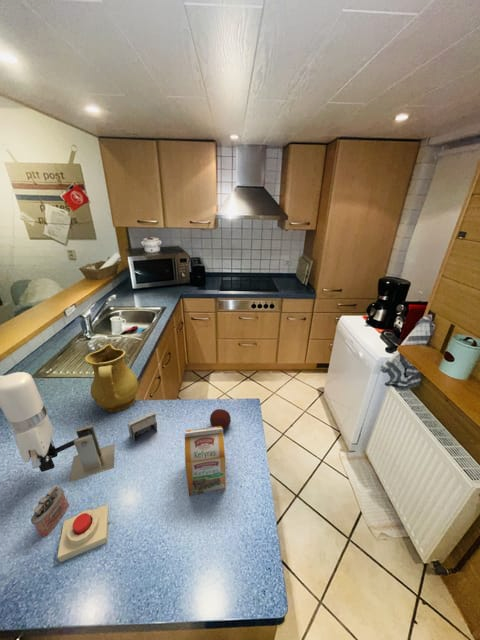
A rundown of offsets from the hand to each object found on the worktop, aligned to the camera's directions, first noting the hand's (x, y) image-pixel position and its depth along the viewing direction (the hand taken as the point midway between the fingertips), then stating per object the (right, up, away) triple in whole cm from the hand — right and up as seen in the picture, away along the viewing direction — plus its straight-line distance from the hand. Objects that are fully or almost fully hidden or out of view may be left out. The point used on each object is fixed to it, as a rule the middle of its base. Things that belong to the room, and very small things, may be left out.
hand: (49, 462), depth 73 cm
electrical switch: (+22, 0, +16) cm, 27 cm away
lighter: (+8, -11, -8) cm, 16 cm away
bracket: (+9, -4, +6) cm, 12 cm away
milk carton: (+45, -6, +4) cm, 46 cm away
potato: (+48, +2, +21) cm, 53 cm away
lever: (+5, +3, +1) cm, 6 cm away
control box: (+17, -12, -10) cm, 23 cm away
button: (+17, -9, -12) cm, 23 cm away
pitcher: (+5, +7, +31) cm, 32 cm away
